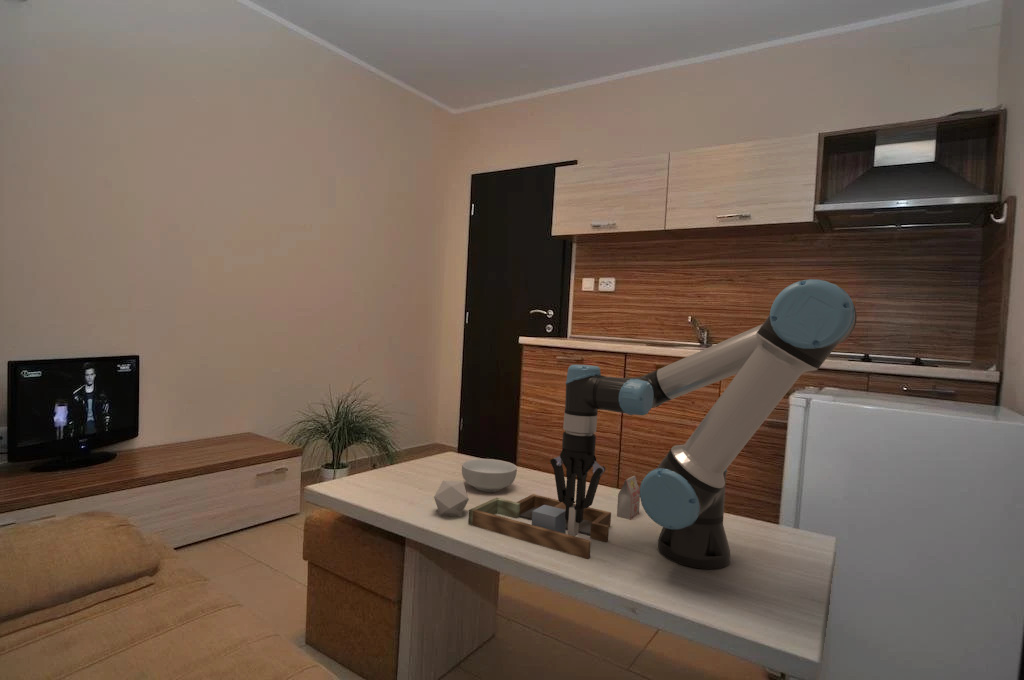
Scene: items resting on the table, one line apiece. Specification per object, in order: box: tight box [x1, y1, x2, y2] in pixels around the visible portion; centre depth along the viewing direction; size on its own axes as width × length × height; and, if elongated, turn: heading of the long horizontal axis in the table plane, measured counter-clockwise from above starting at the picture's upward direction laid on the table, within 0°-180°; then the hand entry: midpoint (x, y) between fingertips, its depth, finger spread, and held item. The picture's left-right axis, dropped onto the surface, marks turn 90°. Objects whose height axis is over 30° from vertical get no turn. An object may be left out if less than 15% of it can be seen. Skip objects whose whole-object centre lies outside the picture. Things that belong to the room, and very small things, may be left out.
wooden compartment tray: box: [467, 493, 612, 560], centre depth 124 cm, size 31×22×4 cm
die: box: [433, 480, 469, 517], centre depth 130 cm, size 8×9×10 cm
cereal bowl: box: [461, 458, 518, 493], centre depth 154 cm, size 17×17×7 cm
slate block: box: [531, 505, 567, 534], centre depth 119 cm, size 6×6×6 cm
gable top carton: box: [616, 475, 641, 520], centre depth 136 cm, size 4×7×10 cm, turn 146°
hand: (572, 535), depth 116 cm, fingers closed
